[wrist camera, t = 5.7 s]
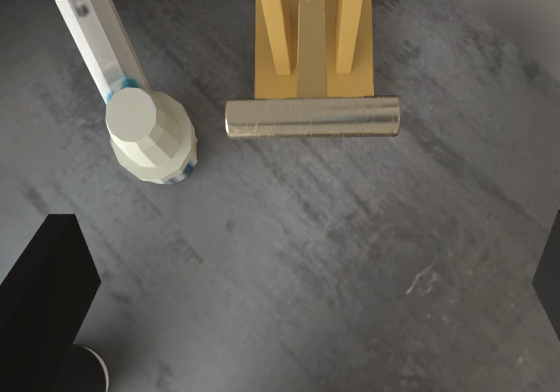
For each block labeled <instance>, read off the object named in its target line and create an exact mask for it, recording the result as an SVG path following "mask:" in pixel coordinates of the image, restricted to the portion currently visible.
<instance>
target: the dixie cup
mask: <svg viewBox="0 0 560 392" xmlns="http://www.w3.org/2000/svg"><path fill="white" fill-rule="evenodd" d="M108 385H109V378H108V372H107V368H106V366H105V364H104V362H103V360H102V359H101V358H100V356H99V355H98V354H96V353H95V352H94V351H92V350H91V349H89V348H86V347H83V346H80V345H77V344H72V346H71V348H70V351H69V353H68V355H67V357H66V359H65V361H64V363H63V366H62V368H61V370H60V372H59V374H58V376H57V379H56V381H55V383H54V385H53V387H52V389H51V391H50V392H107V391H108Z"/></svg>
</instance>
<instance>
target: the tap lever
mask: <svg viewBox="0 0 560 392" xmlns="http://www.w3.org/2000/svg"><path fill="white" fill-rule="evenodd" d="M225 122H226V131H227V135H228V137H229V139H273V138H337V137H395V136H397V135H398V132H399V127H400V101H399V98H398V96H397V95H380V96H335V97H327V70H326V32H325V0H299V18H298V54H297V90H296V97H290V98H244V99H228V100H227V103H226V110H225Z"/></svg>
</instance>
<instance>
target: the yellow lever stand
mask: <svg viewBox="0 0 560 392" xmlns="http://www.w3.org/2000/svg"><path fill="white" fill-rule="evenodd" d="M298 18H299V0H256V22H255V98H290V97H296V90H297V54H298ZM325 32H326V70H327V97H335V96H374V73H373V32H372V0H325Z"/></svg>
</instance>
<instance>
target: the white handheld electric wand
mask: <svg viewBox="0 0 560 392" xmlns="http://www.w3.org/2000/svg"><path fill="white" fill-rule="evenodd" d="M55 1H56V3H57V5H58V7H59V10H60V12H61V14H62V16H63V18H64V20H65V22H66V24H67V26H68V28H69V30H70V32H71V34H72V36H73V38H74V40H75V42H76V44H77V46H78V48H79V50H80V52H81V54H82V56H83V58H84V60H85V63H86V65H87V67H88V69H89V71H90V73H91V75H92V77H93V79H94V81H95V83H96V85H97V87H98V89H99V91H100V93H101V95H102V97H103V99H104V101H105V103H106V105H107V108H106V125H107V128H108V130H109V132H110V135H111V145H112V147H113V149H114V152H115V154H116V156H117V159H118V161H119V163H120V164H121V165H122V166H123V167H125V168H126V169H127V170H129V171H130V172H131V173H133V174H134V175H135V176H136V177H138V178H139V179H141V180H144V181H153V182H154V183H158V184H169V185H174V184H175V183H177V182H179V181H181V180H183V179H185V178H187V177H189V175H190V173H191V171H192V170H193V168H194V166H195V165H196V163H197V161H198V160H197V159H196V156H197V142H198V140H197V138H196V136H195V129H194V127H193V125H192V123H191V121H190V119H189V117H188V115H187V113H186V111H185V109H184V107H183V106H182V105H181V104H180V103H178V102H177V101H175V100H174V99H173V98H171V97H170V96H168V95H167V94H165V93H164V92H153V91H152V90H151V88H150V86H149V84H148V81H147V79H146V77H145V74H144V72H143V70H142V68H141V65H140V63H139V61H138V59H137V56H136V54H135V52H134V49H133V47H132V45H131V43H130V40H129V38H128V36H127V34H126V31H125V29H124V27H123V24H122V22H121V20H120V18H119V15H118V13H117V11H116V8H115V6H114V4H113V2H112V0H55Z"/></svg>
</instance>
